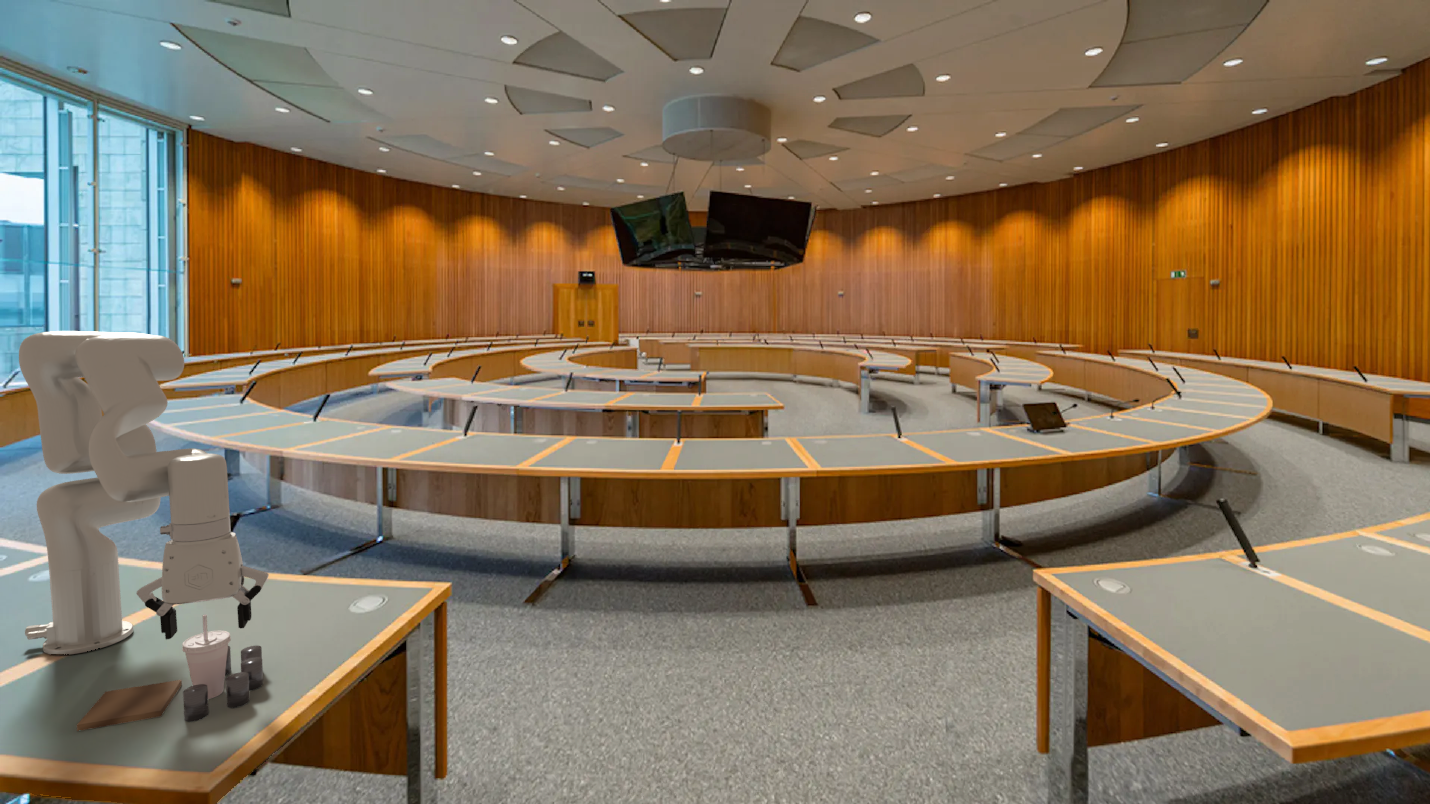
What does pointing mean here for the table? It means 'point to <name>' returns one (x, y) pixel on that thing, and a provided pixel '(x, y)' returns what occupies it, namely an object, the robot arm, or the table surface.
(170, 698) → the walnut pad
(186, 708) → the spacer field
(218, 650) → the smoothie
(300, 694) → the table surface
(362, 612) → the table surface
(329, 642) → the table surface
